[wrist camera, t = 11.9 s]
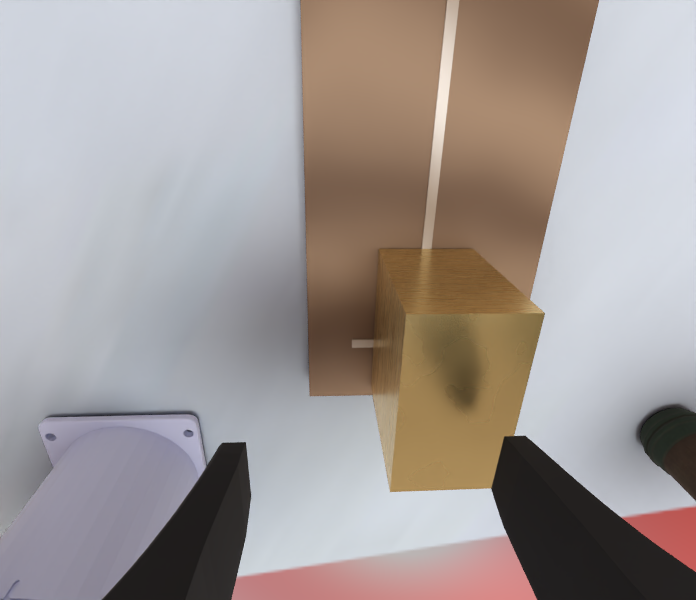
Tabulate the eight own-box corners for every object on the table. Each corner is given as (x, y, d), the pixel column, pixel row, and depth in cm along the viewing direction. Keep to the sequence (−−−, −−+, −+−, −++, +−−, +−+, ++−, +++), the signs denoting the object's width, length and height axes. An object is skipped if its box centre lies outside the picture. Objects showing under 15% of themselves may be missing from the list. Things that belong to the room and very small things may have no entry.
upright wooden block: (451, 385, 20) (501, 487, 14) (371, 386, 20) (390, 492, 14) (473, 249, 17) (544, 313, 12) (378, 248, 17) (406, 314, 11)
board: (496, 374, 22) (509, 393, 20) (310, 377, 21) (309, 397, 20) (586, -50, 14) (616, -69, 13) (300, -65, 14) (298, -86, 12)
